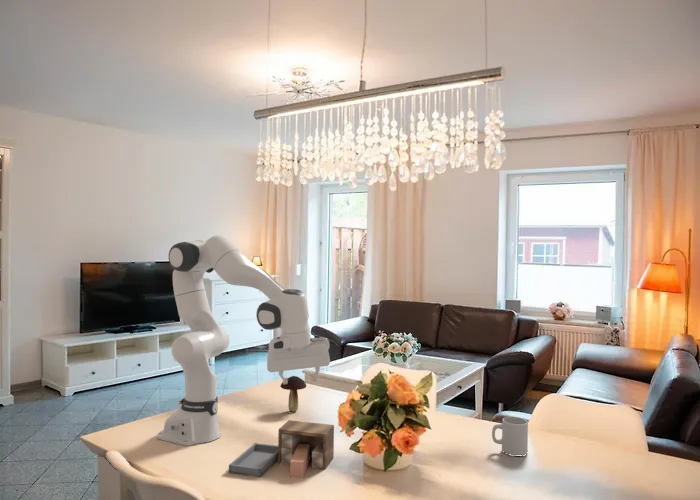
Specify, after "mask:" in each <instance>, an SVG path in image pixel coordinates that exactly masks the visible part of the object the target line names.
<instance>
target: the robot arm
mask: <svg viewBox="0 0 700 500" xmlns="http://www.w3.org/2000/svg"><path fill="white" fill-rule="evenodd" d="M168 262H169V265H170V266H171V268H172V269H173V271H172V287H173V294H174V298H175V299H174V300H175V303H176V307H177V312H178V313H177V314H178V317H179V318H180V319H181V320H182V322H184V323H186V324H187V325H188V327H189V329H190V332H185V333H183V334H182V335H180V336H178V337H177V338H175V339H174V341H173V342H172V344H171V354H172V357H173V359H174V361H176V362H177V363H178V364H179V365H180V367H181V368H182V372H183V377H184V382H185V383H184V384H185V385H184V387H185V389H184V390H185V391H184V394H185V395H184V397H183V398H182V399H181V400H179V401H178V405H181V406H180V408H179V409H177V410H176V411H175V412H174V413H172V414H171V415H170V416H168V417H167V418H166V419H165V422H164V426H163V429H161V431H159V432H158V433H157V435H156V439H157V440H161V441H165V442H169V443H174V444H176V445H182V446H192V445H197V444H203V443H209V442H212V441H216V440H217V439H218V438H220V437H221V431H220V426H219V421H218V409H219V407H218V404H219V403H218V402H219V401H218V400H219V399H218V398H219V397H218V396H217V394H218V393H217V392H218V391H217V390H218V389H217V388H218V387H217V386H218V384H217V383H218V382H217V381H218V377H217V375H216V373H215V372H214V371H213V370H212V369H211V367H210V363H209V362H210V361H209V360H210V359H211V358H215V357H218V356H220V355H221V354H222V353H224V352H225V351H226V350H227V349H228V347H229V345H230V336H229V334H228V332H227V331H226V329H224V328H222V327H221V325H219V324H218V322H217V320H216V319H215V317H214V314H213V313H212V310H211V308H210V307H211V306H210V304H209V303H210V302H209V299H208V296H207V292H206V286H205V282H204V274H205V273H209V274H210V273H212V272H213V271H215V273H216V274H217V276H219V278H220V279H222V280H223V281H224V282H225V283H227V284H228V285H231V286H239V287H241V286H242V287H248V288H253V289H257V290H259V291H260V292H261V293H263V294H264V295H265V296H266V297H267V298H268V299H269V300H266V301H264V302H262V303H260V304H259V305H258V306H257V309H256V321H257V323H258V325H259V326H260V327H261V328H262V329H263V330H266V331H267V330H268V331H272V330H277V329H281V331H282V332H281V333H282V334H281V335H279V336H277V337H274V338H272V339H271V340H270V341H269V350H268V351H267V357H266V358H267V359H266V366H267V367H266V369H267V372H270V373H276V372H278V376H280V379H282V382H283V385H285V384H288V379H287V378H288V377H285V376H284V372H285V371H294V370H295V371H296V370H303V369H310V368H314V369H315V372H314V374H311V378H312V379H311V380H312V382H317V381H318V375H319V372H321V371H320V370H321V369H320V368H321V367H328V366H329V365H330V364H331V358H330V352H329V350H330V347H331V345H330V340H329V339H328V338H326V337H324V336H320V337H311V329H310V326H309V322H308V321H309V314H310V313H309V305H308V299H307V297H306V294H305V293H304V291H302V290H300V289H292V288H288V289H286V288H284V286H282V285H281V284H280V283H279V282H278V281H277V280H276V279H275V278H273V277H272V276H271V275H270V274H269V273H268V272H267V271H265V270H264V269H263V268H262V267H260V266H258V265H257V264H255V263H254V262H252V260H250V259H249V258H248V257H246V256H245V254H244V253H243V252H241V250H240V249H239V248H238V247H237V246H236V245H235V244H234V243H233V242H232V241H230V240H229V239H228V238H226V237H224V236H223V235H213V236H211V237H210V238H208V239H207V240H204V239H197V240H192V241H181V242H177V243H176V244H173V245H172V246H171V247H170V249H169V252H168Z"/></svg>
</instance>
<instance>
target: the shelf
mask: <svg viewBox="0 0 700 500" xmlns="http://www.w3.org/2000/svg"><path fill="white" fill-rule="evenodd" d="M334 436H335V425H334V424H327V423H320V422H319V423H317V422H308V421H300V420H299V421H298V420H291V419H289V420H287V421H286V422H285V423H283V425H281V427H279V429H278V440H277V441H278V442H277V443H278V445H277V446H278V460H277V464H283V465H290V461H291V459H292V457H293V454H294V452H295V450H296V448H297V445H298V444H310V457H311V468H314V469H320V470H321V469H323V470H326V469H327V468H328V467H329V465H330V464H331V462H332V461H333V459H334V448H335V446H334V442H335V437H334Z"/></svg>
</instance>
